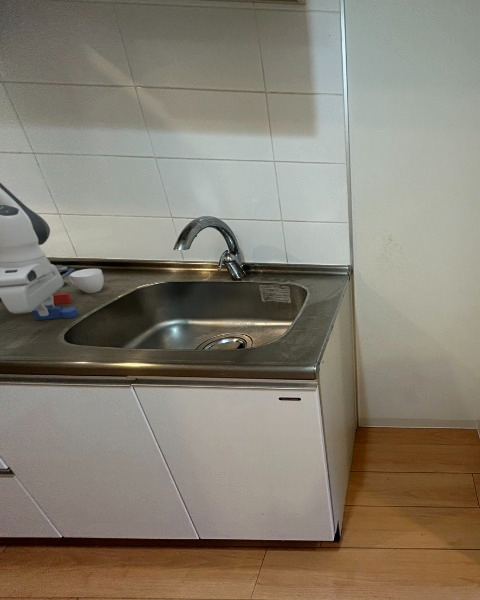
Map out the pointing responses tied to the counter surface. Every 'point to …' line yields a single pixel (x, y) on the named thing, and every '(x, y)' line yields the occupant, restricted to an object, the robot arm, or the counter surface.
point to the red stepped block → (61, 298)
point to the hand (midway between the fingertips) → (48, 312)
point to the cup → (88, 280)
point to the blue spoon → (57, 313)
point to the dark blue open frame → (66, 273)
